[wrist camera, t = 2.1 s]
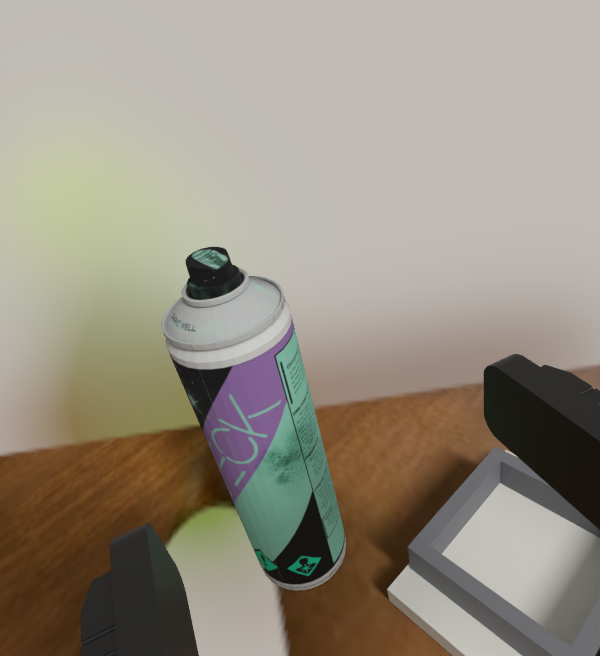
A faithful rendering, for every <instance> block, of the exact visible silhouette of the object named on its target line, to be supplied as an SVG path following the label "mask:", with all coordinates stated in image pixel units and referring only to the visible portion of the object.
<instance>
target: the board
mask: <svg viewBox="0 0 600 656" xmlns="http://www.w3.org/2000/svg"><path fill="white" fill-rule="evenodd" d="M407 548H408V556H409V564H408V565H407V566H406V568H405V569H404V570H403V571H402V572H401V573H400V575H399V576H398V577H397V578H396V579H395V581H394V582H393V583H392V584H391V585H390V586H389V588H388V589H387V591H388V596H389V601H390V602H391V603H392V604H394V605H395V606H396V607H397V608H398V609H399V610H401V611H402V612H403V613H404V614H405V615H406V616H407V617H409V618H410V619H411V620H412V621H413V622H414V623H415V624H417V625H418V626H419V627H420V628H421V629H422V630H424V631H425V632H426V633H427V634H428V635H429V636H430V637H432V638H433V639H434V640H435V641H436V642H437V643H438V644H440V645H441V646H442V647H443V648H444V649H445V650H447V651H448V652H449V653H450V654H451V655H452V656H600V530H599V529H598V528H597V527H596V526H594V525H593V524H592V523H591V522H590V521H589V520H588V519H587V518H585V517H584V516H583V515H582V514H581V513H580V512H579V511H578V510H576V509H575V508H574V507H573V506H572V505H571V504H570V503H569V502H568V501H566V500H565V499H564V498H563V497H562V496H561V495H560V494H559V493H557V492H556V491H555V490H554V489H553V488H552V487H551V486H550V485H548V484H547V483H546V482H545V481H544V480H543V479H542V478H541V477H539V476H538V475H537V474H536V473H535V472H534V471H533V470H532V469H530V468H529V467H528V466H527V465H526V464H525V463H524V462H523V461H521V460H520V459H519V458H518V457H517V456H516V455H515V454H513V453H511V452H509V451H507V450H505V451H504V450H502V449H500V448H498V447H496V446H495V447H494V448H493V449H492V450H491V452H490V453H489V454H488V455H487V456H486V457H485V458H484V460H483V461H482V462H481V463H480V464H479V465H478V467H477V468H476V469H475V470H474V471H473V472H472V473H471V475H470V476H469V477H468V478H467V479H466V480H465V481H464V483H463V484H462V485H461V486H460V487H459V488H458V489H457V491H456V492H455V493H454V494H453V495H452V496H451V497H450V499H449V500H448V501H447V502H446V503H445V504H444V505H443V507H442V508H441V509H440V510H439V511H438V512H437V513H436V515H435V516H434V517H433V518H432V519H431V520H430V521H429V523H428V524H427V525H426V526H425V527H424V528H423V530H422V531H421V532H420V533H419V534H418V535H417V536H416V538H415V539H414V540H413V541H412V542H411V543H410V544H409V546H408V547H407Z"/></svg>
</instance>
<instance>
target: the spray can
mask: <svg viewBox="0 0 600 656" xmlns="http://www.w3.org/2000/svg"><path fill="white" fill-rule="evenodd" d="M186 266H187V269H188V272H189V275H190V278H189V279H188V282H187V284H186V285H185V286H184V288H183V289H182V293H181V294H182V298H180V299H179V300H178V301H177V302H175V303H174V304H173V305H172V306H171V307H170V308H169V309H168V311H167V312H166V314H165V316H164V317H163V320H162V330H163V333H164V335H165V337H166V346H167V349H168V351H169V354H170V356H171V358H172V361H173V363H174V365H175V368H176V370H177V372H178V375H179V377H180V379H181V382H182V384H183V386H184V389H185V391H186V393H187V396H188V398H189V400H190V403H191V405H192V407H193V410H194V412H195V414H196V416H197V419H198V421H199V423H200V426H201V428H202V430H203V433H204V435H205V437H206V440H207V442H208V444H209V447H210V449H211V451H212V454H213V456H214V458H215V461H216V463H217V465H218V468H219V470H220V472H221V475H222V477H223V479H224V482H225V484H226V486H227V489H228V491H229V493H230V496H231V498H232V500H233V503H234V505H235V507H236V510H237V512H238V514H239V516H240V519H241V521H242V523H243V526H244V528H245V530H246V533H247V535H248V537H249V540H250V542H251V544H252V547H253V549H254V551H255V553H256V556H257V558H258V560H259V563H260V565H261V567H262V569H263V571H264V572H265V574H266V576H267V577H268V578H269V579H270V580H271V581H272V582H273V583H275V584H276V585H278V586H280V587H282V588H285V589H288V590H294V591H298V590H307V589H311V588H314V587H317V586H319V585H321V584H323V583H324V582H326V581H327V580H328V579H330V578H331V577H332V576H333V575H334V574H335V573H336V571H337V570H338V568H339V567H340V565H341V563H342V561H343V558H344V556H345V550H346V538H345V533H344V528H343V524H342V520H341V516H340V512H339V508H338V504H337V500H336V496H335V492H334V488H333V483H332V479H331V475H330V471H329V467H328V463H327V459H326V455H325V451H324V447H323V443H322V439H321V434H320V430H319V426H318V422H317V418H316V414H315V410H314V406H313V402H312V398H311V394H310V390H309V386H308V382H307V377H306V373H305V369H304V365H303V361H302V357H301V353H300V349H299V345H298V341H297V337H296V332H295V328H294V325H293V321H292V316H291V312H290V308H289V305H288V303H287V302H286V300H285V298H284V294H283V290H282V289H281V287H280V286H279V285H278V284H277V283H275V282H274V281H272V280H269V279H267V278H262V277H254V276H248V274H247V272H246V271H244V270H242V269H240V268H238V267H236V266H235V265H232V263H231V261H230V258H229V255H228V253H227V251H226V250H225V249H224V248H220V247H208V248H203V249H200V250H198V251H195V252H194V253H192V254H191V255H189V256H188V257H187V259H186Z"/></svg>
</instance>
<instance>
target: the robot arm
mask: <svg viewBox="0 0 600 656" xmlns="http://www.w3.org/2000/svg"><path fill="white" fill-rule="evenodd" d="M484 417H485V420H486V423H487V425H488V427H489V429H490V431H491V432H492V433H493V435H494V436H495V437H496V438H497V439H498V440H499V441H500V442H501V443H502V444H504V445H505V446H506V447H507V448H508V449H509V450H510V451H511V452H513V453H514V454H515V455H516V456H517V457H518V458H519V459H520V460H521V461H523V462H524V463H525V464H526V465H527V466H528V467H529V468H530V469H532V470H533V471H534V472H535V473H536V474H537V475H538V476H539V477H541V478H542V479H543V480H544V481H545V482H546V483H547V484H548V485H550V486H551V487H552V488H553V489H554V490H555V491H556V492H557V493H559V494H560V495H561V496H562V497H563V498H564V499H565V500H566V501H568V502H569V503H570V504H571V505H572V506H573V507H574V508H575V509H576V510H578V511H579V512H580V513H581V514H582V515H583V516H584V517H585V518H587V519H588V520H589V521H590V522H591V523H592V524H593V525H594V526H596V527H597V528H598V529H599V530H600V391H599V390H597V389H593V388H592V386H591V385H589V384H588V383H586V382H585V381H583V380H581V379H580V378H578V377H577V376H575V375H573V374H572V373H570V372H566V371H563V370H560V369H557V368H554V367H551V366H547V365H544V366H542V367H539V366H538V365H536V364H535V363H533V362H531V361H530V360H528V359H527V358H525V357H524V356H522V355H519V354H513V355H511V356H509V357H507V358H504V359H502V360H500V361H498V362H496V363H494V364H491V365H489V366H487V367H486V368H485V370H484ZM110 556H111V572H109V573H107V574H105V575H102V576H100V577H98V578H96V579H94V580H92V582H91V585H90V588H89V591H88V594H87V596H86V599H85V602H84V605H83V608H82V610H81V642H82V644H83V647H81V656H199V655H198V650H197V645H196V640H195V635H194V630H193V626H192V620H191V615H190V610H189V605H188V601H187V596H186V592H185V588H184V584H183V581H182V578H181V576H180V573H179V571H178V568H177V567H176V564H175V563H174V561H173V559H172V558H171V556H170V554H169V553H168V551H167V550H166V548H165V546H164V545H163V543H162V541H161V540H160V538H159V536H158V535H157V533H156V532H155V530H154V528H153V527H152V525H151V524H150V523H147V524H145V525H142V526H140V527H138V528H136V529H134V530H132V531H130V532H127V533H125V534H123V535H121V536H119V537H117V538H115V539H113V540H111V543H110Z"/></svg>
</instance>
